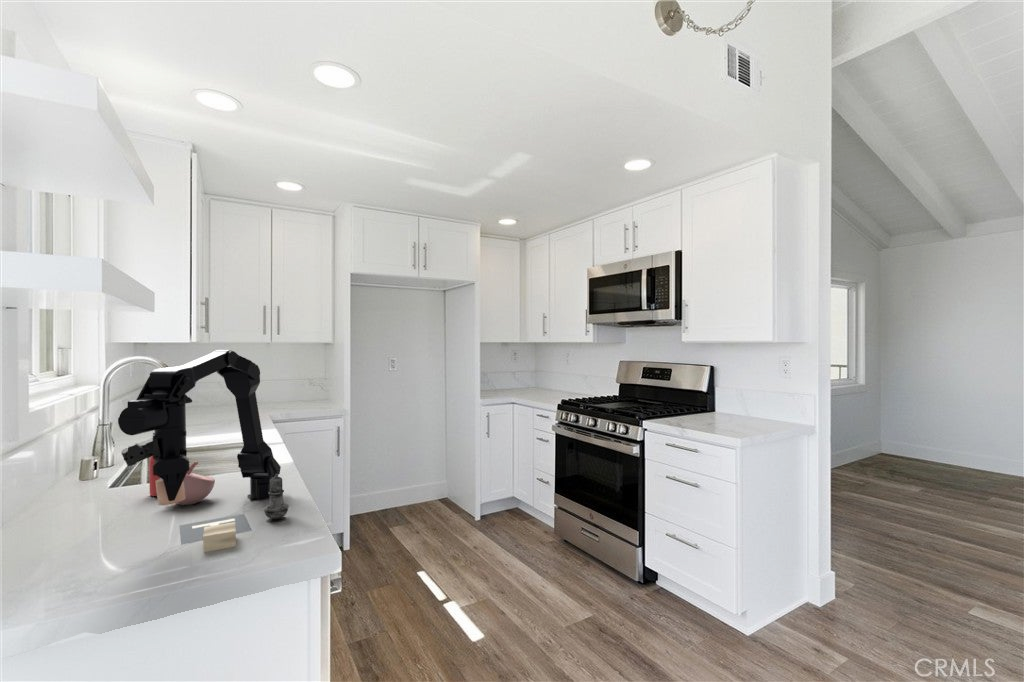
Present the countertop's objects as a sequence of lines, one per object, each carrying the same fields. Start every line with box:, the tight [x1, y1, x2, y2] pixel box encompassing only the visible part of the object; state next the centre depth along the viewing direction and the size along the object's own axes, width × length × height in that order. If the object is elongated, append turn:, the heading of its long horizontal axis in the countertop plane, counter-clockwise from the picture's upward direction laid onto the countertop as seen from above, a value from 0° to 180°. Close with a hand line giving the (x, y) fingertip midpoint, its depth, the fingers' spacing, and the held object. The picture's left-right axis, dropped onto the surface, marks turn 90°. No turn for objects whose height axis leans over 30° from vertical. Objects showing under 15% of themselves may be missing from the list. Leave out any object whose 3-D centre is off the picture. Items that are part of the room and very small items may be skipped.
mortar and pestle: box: [176, 460, 216, 506], centre depth 141 cm, size 12×12×12 cm
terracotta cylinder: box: [155, 478, 186, 506], centre depth 112 cm, size 5×5×5 cm
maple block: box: [202, 522, 237, 553], centre depth 112 cm, size 6×6×4 cm
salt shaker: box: [263, 474, 290, 524], centre depth 127 cm, size 6×6×12 cm
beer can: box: [148, 456, 160, 497], centre depth 150 cm, size 7×7×12 cm
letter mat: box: [179, 513, 253, 546], centre depth 122 cm, size 14×14×1 cm
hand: (171, 497), depth 112 cm, fingers closed on terracotta cylinder, 5 cm apart
